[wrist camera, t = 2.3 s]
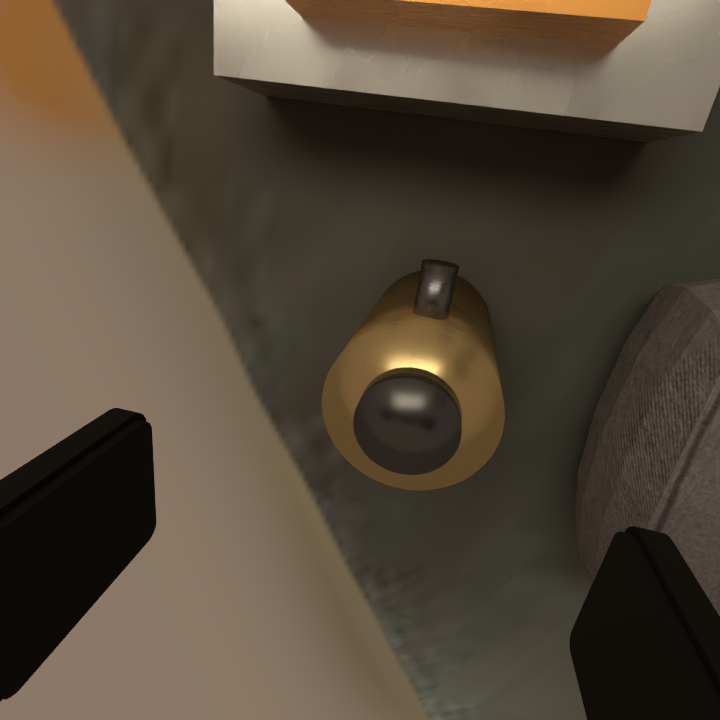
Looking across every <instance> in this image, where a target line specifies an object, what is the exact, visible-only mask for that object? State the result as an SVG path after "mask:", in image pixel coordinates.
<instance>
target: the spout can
mask: <svg viewBox="0 0 720 720" xmlns="http://www.w3.org/2000/svg"><path fill="white" fill-rule="evenodd" d="M458 269H459V266H458V265H456V264H454V263H450V262H446V261H441V260H433V259H425V260H422V264H421V270H420V271H417V272H414V273H411V274H408V275H406V276H404V277H402V278H400V279H399V280H397V281H396V282H395V283H393V284H392V285H391V286H390V287H389V288H388V289H387V290H386V292H385V293H384V294H383V296H382V297H381V299H380V300H379V301H378V303H377V304H376V306H375V307H374V308H373V310H372V311H371V313H370V314H369V315H368V317H367V318H366V319H365V321H364V322H363V324H362V325H361V326H360V328H359V329H358V331H357V332H356V333H355V335H354V336H353V338H352V339H351V340H350V342H349V343H348V345H347V346H346V347H345V349H344V350H343V351H342V353H341V354H340V356H339V357H338V358H337V360H336V361H335V363H334V364H333V365H332V367H331V369H330V371H329V373H328V375H327V378H326V381H325V384H324V388H323V394H322V412H323V418H324V422H325V426H326V428H327V431H328V434H329V436H330V438H331V440H332V441H333V443H334V445H335V446H336V448H337V449H338V451H339V452H340V453H341V454H342V456H343V457H344V458H345V459H346V460H347V461H348V462H349V463H350V464H351V465H352V466H354V467H355V468H356V469H357V470H359V471H360V472H362V473H363V474H364V475H366V476H368V477H370V478H372V479H374V480H376V481H378V482H380V483H383V484H385V485H389V486H392V487H395V488H401V489H406V490H433V489H440V488H444V487H448V486H451V485H453V484H456V483H459V482H461V481H463V480H465V479H466V478H468V477H470V476H471V475H473V474H474V473H476V472H477V471H478V470H479V469H480V468H482V467H483V466H484V465H485V464H486V463H487V461H488V460H489V459H490V458H491V456H492V455H493V454H494V452H495V450H496V448H497V446H498V445H499V442H500V439H501V437H502V433H503V429H504V424H505V407H504V399H503V393H502V387H501V381H500V375H499V369H498V363H497V357H496V351H495V345H494V340H493V334H492V328H491V322H490V316H489V312H488V308H487V306H486V303H485V301H484V300H483V298H482V296H481V295H480V293H479V292H478V291H477V290H476V289H475V288H474V287H473V286H472V285H471V284H470V283H469V282H467V281H466V280H465V279H463V278H461V277H459V276H458V275H457V274H458Z"/></svg>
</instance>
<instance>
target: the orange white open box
mask: <svg viewBox="0 0 720 720" xmlns="http://www.w3.org/2000/svg"><path fill="white" fill-rule="evenodd" d="M214 75H215V76H218V77H220V78H222V79H225V80H227V81H230V82H232V83H235V84H237V85H239V86H242V87H244V88H247V89H249V90H252V91H254V92H256V93H259V94H261V95H264V96H267V97H275V98H283V99H291V100H300V101H308V102H316V103H324V104H333V105H341V106H349V107H357V108H366V109H374V110H382V111H390V112H398V113H407V114H415V115H423V116H431V117H440V118H448V119H456V120H464V121H473V122H481V123H489V124H497V125H506V126H514V127H522V128H530V129H538V130H547V131H555V132H563V133H571V134H580V135H588V136H596V137H604V138H613V139H621V140H629V141H637V142H645V143H648V142H653V141H658V140H663V139H668V138H673V137H678V136H683V135H688V134H693V133H698V132H702V131H703V128H704V126H705V123H706V121H707V118H708V115H709V113H710V110H711V108H712V105H713V102H714V100H715V97H716V95H717V92H718V89H719V87H720V0H214Z"/></svg>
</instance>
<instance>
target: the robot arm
mask: <svg viewBox="0 0 720 720" xmlns="http://www.w3.org/2000/svg"><path fill="white" fill-rule="evenodd" d="M152 445H153V444H152V428H151V425H150V423H148V422H146V418H145V417H144V415H143V414H141V413H137V412H132V411H128V410H124V409H119V408H113V409H111V410H109V411H107V412H106V413H104V414H103V415H101V416H99V417H98V418H96V419H95V420H93V421H92V422H90V423H89V424H87V425H85V426H84V427H82V428H81V429H79V430H78V431H76V432H74V433H73V434H72V435H70V436H68V437H67V438H65V439H64V440H62V441H60V442H59V443H58V444H56V445H54V446H53V447H51V448H50V449H48V450H47V451H45V452H43V453H42V454H40V455H39V456H37V457H36V458H34V459H32V460H31V461H29V462H28V463H26V464H25V465H23V466H22V467H20V468H18V469H17V470H15V471H14V472H12V473H11V474H9V475H8V476H6V477H5V478H3V479H1V480H0V701H1V700H2V699H8V698H10V697H11V696H13V695H14V694H15V693H17V691H19V690H20V688H21V687H22V686H23V685H24V684H25V682H26V681H28V679H29V678H30V677H31V676H32V675H33V673H34V672H35V671H36V670H37V669H38V668H39V667H40V666H41V664H42V663H43V662H44V661H45V660H46V659H47V657H48V656H49V655H50V654H51V653H52V652H53V651H54V649H55V648H56V647H57V646H58V645H59V643H60V642H61V641H62V640H63V639H64V638H65V637H66V635H67V634H68V633H69V632H70V631H71V630H72V628H74V626H75V625H76V624H77V623H78V622H79V621H80V619H81V618H82V617H83V616H84V615H85V614H86V613H87V611H88V610H89V609H90V608H91V607H92V606H93V604H94V603H95V602H96V601H97V600H98V599H99V597H100V596H101V595H102V594H103V593H104V592H105V590H106V589H107V588H108V587H109V586H110V585H111V584H112V583H113V581H114V580H115V579H116V578H117V577H118V576H119V574H120V573H121V572H122V571H123V570H124V569H125V567H126V566H127V565H128V564H129V563H130V562H131V561H132V560H133V558H134V557H135V556H136V555H137V554H138V553H139V551H140V550H141V549H142V548H143V547H144V546H145V544H146V543H147V542H148V541H149V540H150V538H151V536H152V535H153V532H154V530H155V526H156V510H155V509H156V508H155V486H154V465H153V446H152ZM570 652H571V656H572V660H573V664H574V668H575V672H576V676H577V680H578V684H579V688H580V692H581V696H582V700H583V704H584V708H585V712H586V716H587V720H720V616H719V615H718V613H717V611H716V610H715V608H714V607H713V605H712V603H711V602H710V600H709V598H708V597H707V595H706V594H705V592H704V590H703V589H702V587H701V586H700V584H699V582H698V581H697V579H696V578H695V576H694V574H693V573H692V571H691V570H690V568H689V566H688V565H687V563H686V561H685V560H684V558H683V557H682V555H681V553H680V552H679V550H678V549H677V547H676V545H675V544H674V542H673V541H672V539H671V538H670V537H669V536H668V535H667V534H665V533H662V532H657V531H653V530H649V529H644V528H640V527H636V526H629V527H628V528H627V529H626V530H625V532H621V531H619V532H617V533H615V535H614V537H613V539H612V541H611V543H610V546H609V548H608V550H607V552H606V555H605V557H604V559H603V561H602V564H601V566H600V568H599V570H598V573H597V575H596V577H595V579H594V582H593V584H592V586H591V588H590V591H589V593H588V595H587V597H586V600H585V602H584V604H583V606H582V609H581V611H580V613H579V615H578V618H577V620H576V622H575V624H574V627H573V629H572V632H571V636H570Z"/></svg>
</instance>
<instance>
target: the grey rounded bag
mask: <svg viewBox="0 0 720 720" xmlns="http://www.w3.org/2000/svg"><path fill="white" fill-rule="evenodd" d="M574 522H575V530H576V538H577V546H578V554H579V555H580V557H581V559H582V561H583V563H584V565H585V567H586V568H587V570H588V572H589V574H590V576H591V578H592V579H593V581H594V579H595V577H596V575H597V573H598V570H599V568H600V566H601V564H602V561H603V559H604V557H605V555H606V552H607V550H608V548H609V546H610V543H611V541H612V539H613V537H614V535H615V533H617V532H619V531H621V532H625V530H626V529H627V528H628V527H629V526H636V527H640V528H644V529H649V530H653V531H657V532H662V533H665V534H667V535H668V536H669V537H670V538H671V539H672V541H673V542H674V544H675V545H676V547H677V549H678V550H679V552H680V553H681V555H682V557H683V558H684V560H685V561H686V563H687V565H688V566H689V568H690V570H691V571H692V573H693V574H694V576H695V578H696V579H697V581H698V582H699V584H700V586H701V587H702V589H703V590H704V592H705V594H706V595H707V597H708V598H709V600H710V602H711V603H712V605H713V607H714V608H715V610H716V611H717V613H718V615H719V616H720V278H714V279H706V280H699V281H692V282H685V283H677V284H670V285H665V286H664V287H663V288H662V289H661V290H660V291H659V292H658V293H656V294H655V295H654V297H653V298H652V300H651V301H650V303H649V304H648V306H647V307H646V309H645V310H644V312H643V314H642V315H641V317H640V318H639V320H638V321H637V323H636V324H635V326H634V327H633V329H632V331H631V332H630V334H629V335H628V337H627V338H626V341H625V343H624V345H623V347H622V350H621V352H620V354H619V356H618V359H617V361H616V363H615V365H614V368H613V370H612V372H611V374H610V377H609V379H608V381H607V383H606V385H605V388H604V390H603V392H602V394H601V397H600V399H599V401H598V404H597V406H596V409H595V411H594V415H593V418H592V422H591V426H590V429H589V433H588V436H587V440H586V444H585V447H584V451H583V454H582V458H581V462H580V465H579V469H578V472H577V486H576V502H575V518H574Z"/></svg>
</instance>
